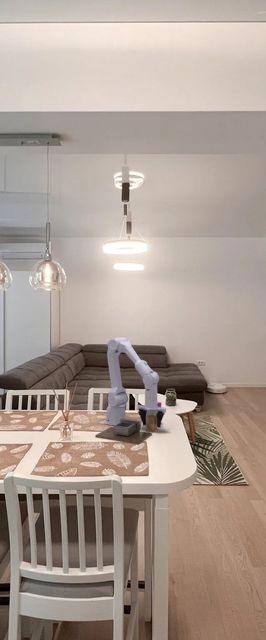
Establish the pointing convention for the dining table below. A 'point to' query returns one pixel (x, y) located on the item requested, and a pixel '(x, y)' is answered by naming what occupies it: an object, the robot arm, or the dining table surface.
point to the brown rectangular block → (151, 423)
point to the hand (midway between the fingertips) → (151, 426)
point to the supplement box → (153, 411)
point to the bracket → (125, 432)
